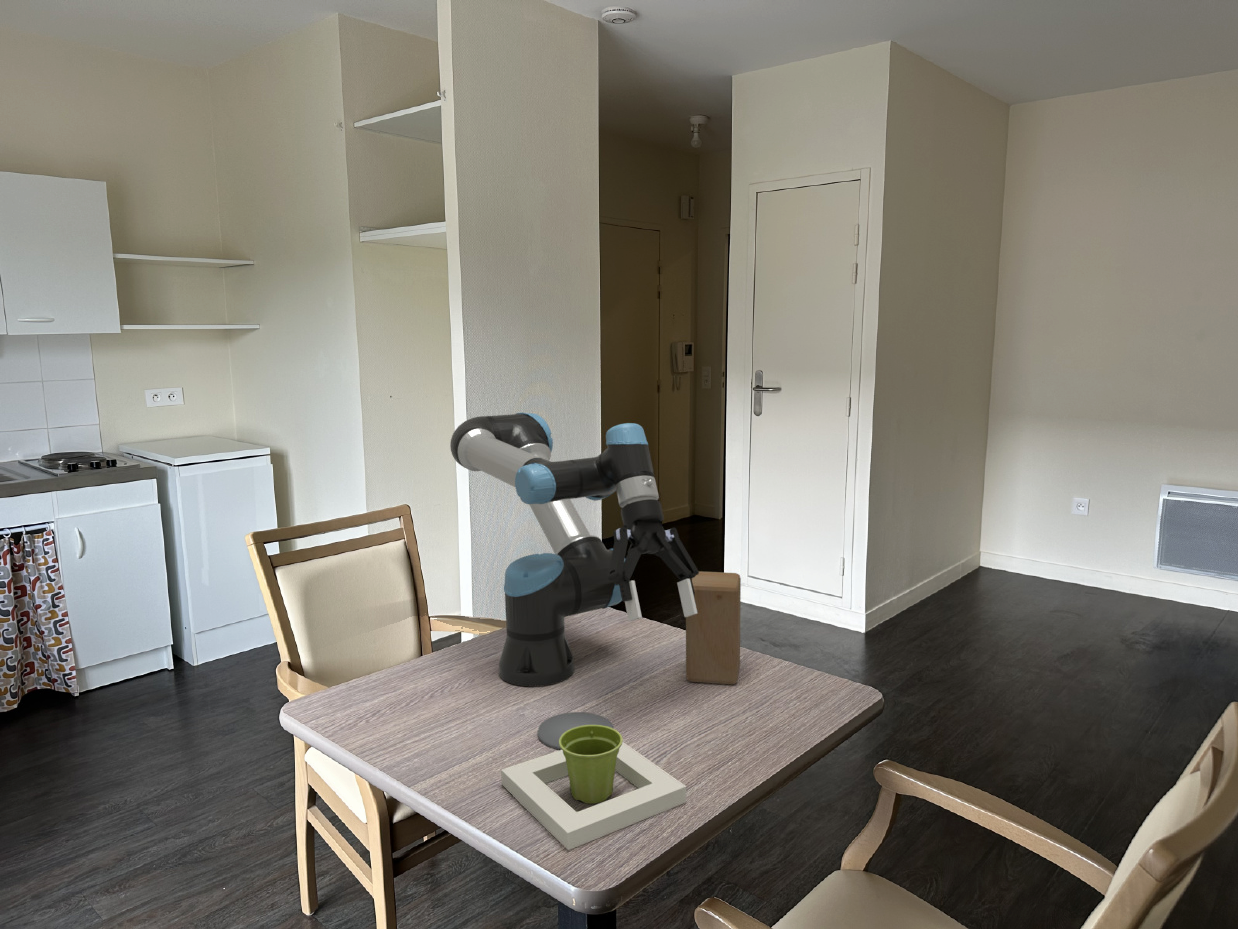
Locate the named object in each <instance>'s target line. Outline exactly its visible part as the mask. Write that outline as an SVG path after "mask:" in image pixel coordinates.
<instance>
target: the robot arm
mask: <svg viewBox="0 0 1238 929" xmlns="http://www.w3.org/2000/svg"><path fill="white" fill-rule="evenodd" d="M553 440H554V439H553V437H552V432H551V428H550V426H549V424H548V423H547V421H546V420H545V419H544V418H543V417H542V416H541V415H539V414H537V413H534V412H532V413H531V412H529V413H527V412H517V413H513V414H512V413H511V414H499V415H498V414H497V415H486V416H483V415H481V416H475V417H471V418H469V419H467V420H465V421H464V422H462V423H460V424H459V425H458V426H457V428H455V430H454V431H453V433H452V435H451V439H450V446H449V447H450V452H451V455H452V457H453V459H454V461H455V462H456V463H457V464H458V465H460V466H461V467H463V468H464V469H466V470H468V471H470V472H483V473H485V474H487V475H489V476H491V477H493V478H495V479H497V480H499V481H501V482H502V483H503V482H504V483H505V484H507V485H509V486H512V487H513V488H515V490H516V494H517V496H518V497H519V498H520V501H521V502H523V504H526V505H528V506H529V507H530V509H531V510H532V513H533V515H534V517H535V518H536V521H537V522H538V523H539V526H540V528H541V530H542V532H543V534H544V536H545V538H546V540H547V541H548V543H549V545H550V547H551V548H552V551H553V552H554V553H551V552H543V553H540V554H539V553H533V554H528V555H524V556H522V557H519V558H517V559H515V560H514V561H512V562H511V563H510V564H509V565H508V566H507V568H506V569H505V572H504V585H503V590H504V591H503V592H504V601H505V602H504V603H505V604H504V605H505V608H504V609H505V623H506V624H505V626H506V627H505V628H506V638H505V642H504V645H503V648H502V652H501V655H500V659H499V661H498V662H499V663H498V671H499V672H498V674H499V677H500V678H501V679H502V680H503V681H504V682H506V683H508V684H511V685H515V686H520V687H544V686H549V685H553V684H558V683H560V682H563V681H565V680H568V679H569V678H570V677H571V676H572V675H574V672H575V660H574V656H573V654H572V651H571V648H570V645H569V642H568V639H567V636H566V633H565V632H566V631H565V618H567V617H570V616H575V615H579V614H584V613H587V612H593V611H596V610H601V609H603V610H604V609H608V608H609V607H611V606H616V605H618V604H620V603H621V602H624V604H625V605H624V606H625V610H626V615H627V620H628V622H633V621H637V620H639V619H642V618H643V616H642V611H641V606H640V602H639V596H638V592H637V587H636V581H635V580H630V579H631V577H632V575H633V573H634V571H635V568H636V567H637V564H638V562H639V559H640V557H641V555H644V554H648V555H655V556H656V557H658V558H660V560H662V562H663V563H665V565H666V566H667V567H668V568H669V570H670V571H672V573H673V575H675V576H676V578H677V579H678V580H679V581H678V582H676V584H677V588H678V593H679V598H680V602H681V607H682V613H683V616H684V618H686V617H689V616H692V615H695V614H697V609H696V604H695V600H694V596H695V592H694V587H693V583H692V578H694V577H695V576H696V575H698V574H699V569H698V568H697V566H696V564H695V563H694V561H693V559H692V557H691V556H690V554H689V553H688V551H687V549H686V547H685V546H684V544H683V542H682V541H681V539H680V536H679V532H678V530H677V528H676V527H672V528H670V529H667V530H665V529H664V527H663V521H664V519H665V517H664V513H663V508H662V505H661V502H660V501H659V498H660V497H659V496H660V495H659V492H658V486H657V481H656V478H655V474H654V467H653V462H652V459H651V458H652V457H651V453H650V450H649V443H648V441H647V437H646V434H645V431H644V428H643V426H641V425H640V424H638V423H634V422H633V423H632V422H631V423H630V422H627V423H620V424H617V425H614V426H612V427H610V428H609V429H608V430H607V431H606V434H605V441H606V442H605V445H606V446H607V448H605V449H604V451H603V452H602V453H600V454H599V455H597V456H594V457H593V456H592V457H585V458H576V459H567V460H558V461H550V459H551V456H552V452H553V443H554V442H553ZM615 492H616V496H617V499H618V505H619V507H620V508H621V509H620V515H621V519H622V523H623V524H622V525H623V526H622V527H619V528H617V529H615V530H614V531H613V539H614V540H613V547H612V548H609V549H607V548H606V546H605V544H604V543H603V541H602V539H601V538H600V537H599V536H597V535H592V534H590V531H589V529H588V528H587V527H586V525H585V522H584V521H583V520H582V518H581V516H580V514H579V513H578V511H577V509H576V507H575V505H574V504H573V502H572V499H573V500H574V499H581V498H586V499H588V500H591V501H594V502H595V501H601V500H603V499H605V498H608V497H610V496H611V495H613V494H614V493H615ZM629 542H630V545H629V547H628V543H629ZM627 548H628V550H627Z"/></svg>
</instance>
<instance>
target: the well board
mask: <svg viewBox="0 0 1238 929" xmlns="http://www.w3.org/2000/svg"><path fill="white" fill-rule="evenodd" d="M615 772H616V773H618V774H620V776H622V777H623V778H625V779H626V780H627V781H628V782H630V784H633V785H634V787H637V789H635V790H632V791H628V792H626V793H623V794H621V795H619V796H616V797H614V798H610V799H608V800H605V801H603V802H600V803H596V804H595V805H592V806H590V807H587V808H584V809H582V810H580V811H579V810H578V811H577V810H575V809H574V808H573V807H571V806H570V805H569V804H568V803H567V802H566V801H565V800H564V799H562V797H560V796H559V795H558V794H557V793H556V792H555V791H553V790H552V789H551V788H550V786H548V785H547V784H549V783H550V782H554V781H556V780H559V779H562V778H564V777H567V776H568V770H567V765H566V759H565V756H564V754H563V750H557V751H553V752H551V753H548V754H545V755H541V756H539V757H535V758H532V759H530V760H527V761H523V762H520V763H517V764H514V765H511V766H507V767H505V768H502V769H501V770H500V774H501V775H500V776H501V786H502V785H503V786H504V787H505V788H506V789H507V790H508V791H509V792H510V793H511V794H512V795H513V796H512V795H511V794H510V793H509V792H508V791H507V790H506V789H505V788H504V787H503V786H502V787H503V788H504V789H505V790H506V791H507V792H508V793H509V794H510V795H511V796H512V797H513V798H514V797H515V798H516V799H517V801H518V803H519V804H520V805H521V806H522V807H524V809H526V810H527V812H529V813H530V814H531V815H532V816H533V818H535V820H537V821H538V822H539V824H541V825H542V826H543V827H544V828H545V829H546V830H547V831H548V833H550V834H551V835H552V836H553V837H554V839H556V840H557V841H558V842H559V843H560V844H561V846H563V847H564V848H565V849H566V850H567V851H570V850H572V849H575V848H577V847H580V846H583V845H584V844H585V845H586V844H588V843H589V842H592V841H595V840H597V839H599V838H602V837H604V836H607V835H610V834H611V833H614V832H616V831H619V830H622V829H623V828H627V827H629V826H631V825H634V824H637V823H639V822H641V821H643V820H646V819H649V818H651V817H654V816H655V815H658V814H661V813H663V812H666V811H668V810H671V809H673V808H675V807H678V806H680V805H683V804H686V803H687V786H686V785H685V784H684V783H682V782H681V781H679V779H676V778H675V777H673V776H672V775H671V774H669V773H668V772H666V771H665V770H663V769H662V767H659V766H658V765H657V764H655V763H654V762H653V761H651V760H650V759H648V758H647V757H645V756H644V755H642V754H641V753H640V752H638V751H636V750H635V749H634V748H633V747H631V746H630V745H628V744H627V743H625V742H624V741H623V742H622V745H621V747H620V748H619V753H618V754H617V759H616V766H615ZM568 777H569V776H568ZM553 780H554V781H553ZM515 798H514V799H515ZM516 799H515V800H516Z"/></svg>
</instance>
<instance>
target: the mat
mask: <svg viewBox="0 0 1238 929" xmlns="http://www.w3.org/2000/svg"><path fill="white" fill-rule="evenodd" d="M583 725H602V726H607V727H610V728H613V729H615V728H614V725H613V723H612V722H611V720H609V719H608V718H606V717H605V716H603V715H600V714H597V713H593V712H585V711H574V712H573V711H572V712H566V713H565V712H564V713H560V714H556V715H553V716H551V717H549V718H547V719H546V720H544V721H543V722H541V724H540V725H539V726H538V729H537V737H538V740H539V741H540V742H541V743H542V744H544V745H545V746H547V747H549V748H551V749H555V750H557V751H559V749H560V750H562V749H561V748H560V746H559V739H560V737H561V735H562V734H563V733H565V732H566V731H568V730H570V729H572V728H575V727H578V726H583Z"/></svg>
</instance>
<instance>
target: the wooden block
mask: <svg viewBox="0 0 1238 929" xmlns="http://www.w3.org/2000/svg"><path fill="white" fill-rule="evenodd" d="M698 571H699V570H698ZM692 583H693V587H694V592H695V596H694V600H695V604H696V609H697V614H695V615H692V616H689V617H685V677H686V680H687V681H689V682H694V683H706V684H721V685H735V684H737V682H738V678H739V673H740V671H739V670H740V667H741V596H742V595H741V590H742V589H741V587H742V586H741V585H742V584H741V575H740V574H739V573H737V572H724V571H723V572H722V571H721V572H720V571H719V572H718V571H699V574H698V575H696V576H695V577H694V578H692Z"/></svg>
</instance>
